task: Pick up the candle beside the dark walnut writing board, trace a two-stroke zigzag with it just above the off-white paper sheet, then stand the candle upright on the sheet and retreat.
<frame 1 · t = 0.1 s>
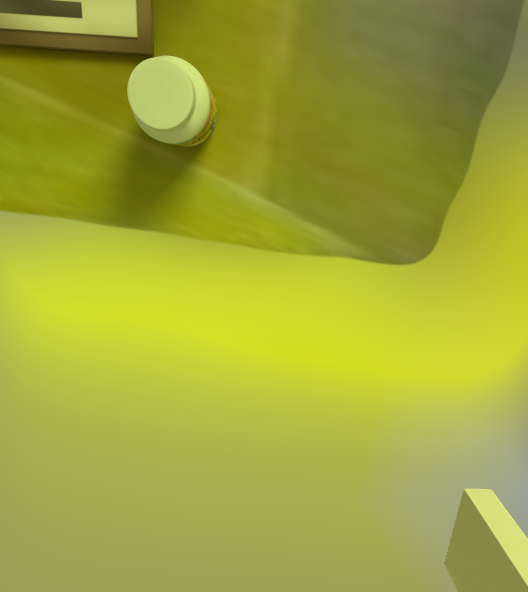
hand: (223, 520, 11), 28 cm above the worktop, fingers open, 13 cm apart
supplement bottle: (186, 113, 34), on the worktop
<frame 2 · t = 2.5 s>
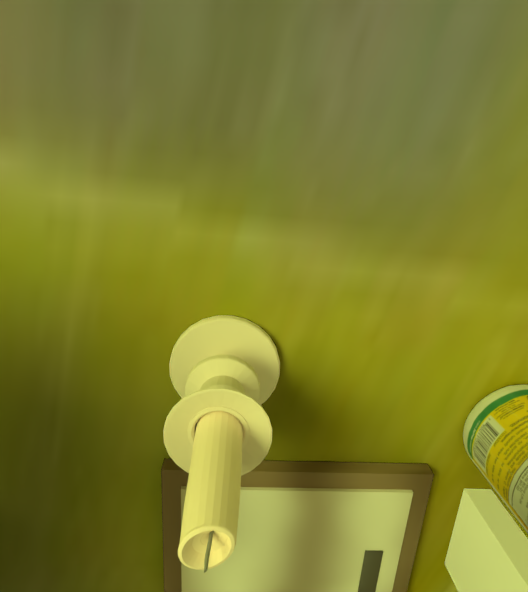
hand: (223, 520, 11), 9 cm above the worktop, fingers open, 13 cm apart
writing board: (286, 579, 24), on the worktop
supplement bottle: (507, 423, 21), on the worktop
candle: (225, 363, 20), on the worktop
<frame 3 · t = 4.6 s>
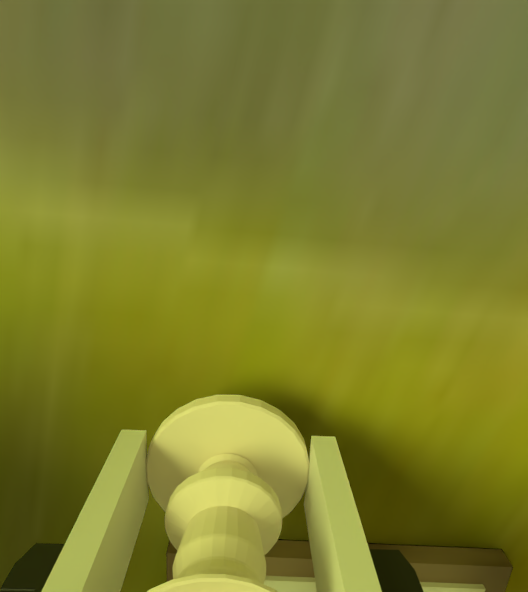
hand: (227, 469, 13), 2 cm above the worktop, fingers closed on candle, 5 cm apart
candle: (229, 458, 13), point 2 cm above the worktop, touching gripper
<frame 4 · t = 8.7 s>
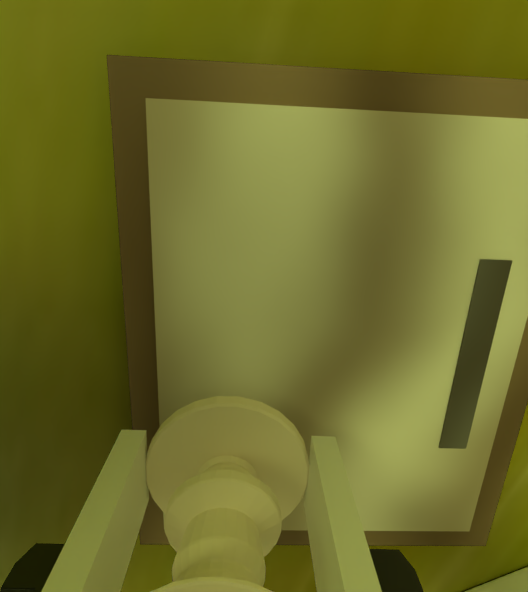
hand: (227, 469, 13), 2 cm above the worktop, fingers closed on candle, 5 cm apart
writing board: (333, 344, 14), on the worktop
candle: (228, 459, 13), point 2 cm above the worktop, touching gripper
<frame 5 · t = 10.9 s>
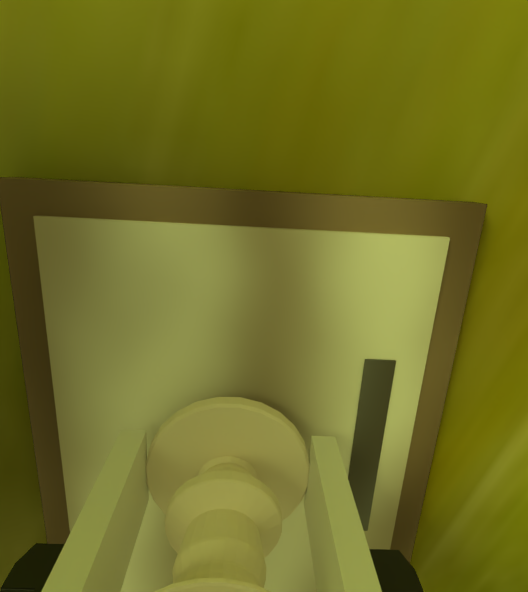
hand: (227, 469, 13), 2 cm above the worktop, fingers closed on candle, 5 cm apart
writing board: (237, 428, 15), on the worktop
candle: (229, 460, 13), point 2 cm above the worktop, touching gripper
when the fingers open (2 cm above the worktop, at t = 12.7 s): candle stays where it is, resting on writing board.
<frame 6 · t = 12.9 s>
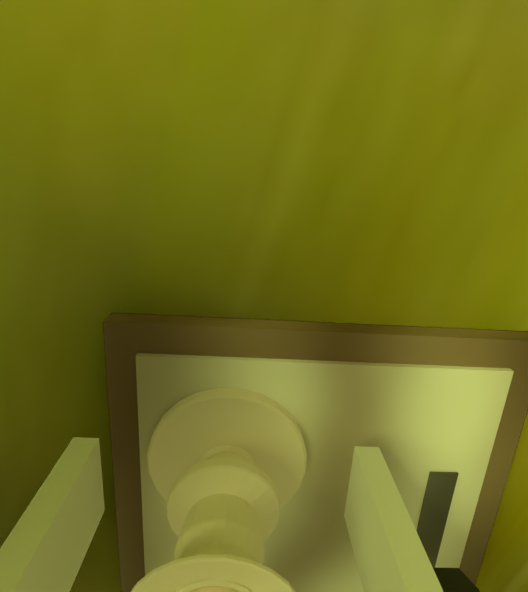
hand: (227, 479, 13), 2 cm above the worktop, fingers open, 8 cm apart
writing board: (303, 522, 16), on the worktop
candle: (228, 450, 14), point 1 cm above the worktop, touching writing board
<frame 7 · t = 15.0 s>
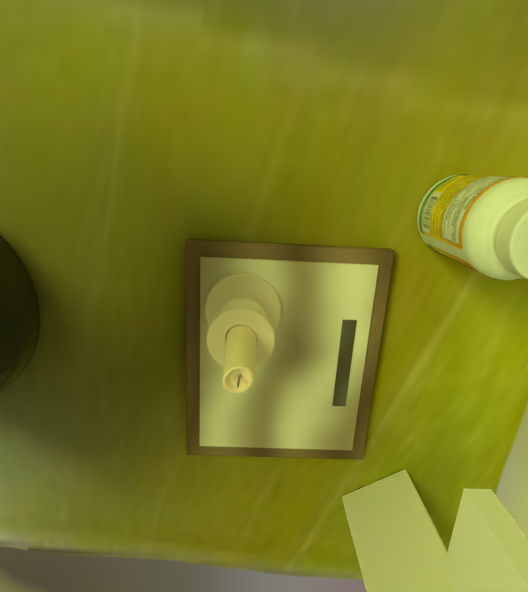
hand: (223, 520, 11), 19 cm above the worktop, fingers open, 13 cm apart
writing board: (281, 355, 30), on the worktop
supplement bottle: (452, 214, 28), on the worktop
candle: (243, 308, 28), point 1 cm above the worktop, touching writing board
milk: (385, 504, 35), on the worktop
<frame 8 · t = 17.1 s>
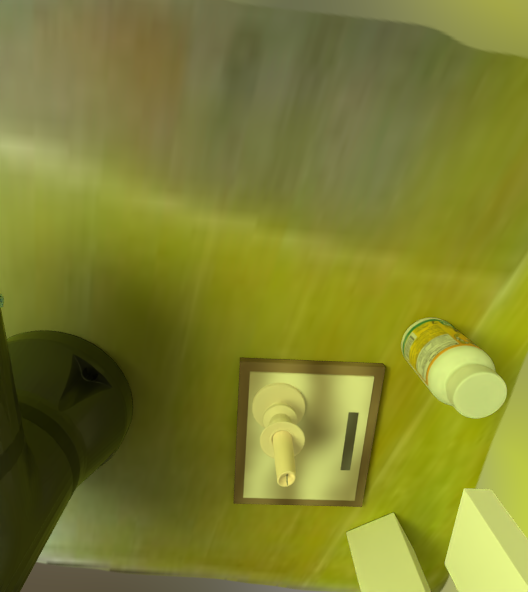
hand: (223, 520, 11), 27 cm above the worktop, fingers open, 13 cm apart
writing board: (304, 434, 42), on the worktop
supplement bottle: (426, 340, 39), on the worktop
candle: (278, 404, 40), point 1 cm above the worktop, touching writing board
milk: (378, 537, 47), on the worktop
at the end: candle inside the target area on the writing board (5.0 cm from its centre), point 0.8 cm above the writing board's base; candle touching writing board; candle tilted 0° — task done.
